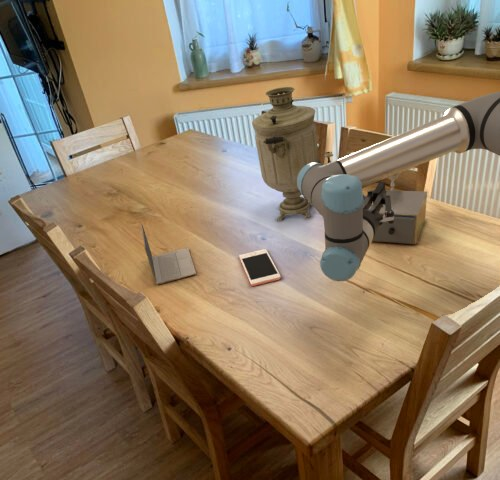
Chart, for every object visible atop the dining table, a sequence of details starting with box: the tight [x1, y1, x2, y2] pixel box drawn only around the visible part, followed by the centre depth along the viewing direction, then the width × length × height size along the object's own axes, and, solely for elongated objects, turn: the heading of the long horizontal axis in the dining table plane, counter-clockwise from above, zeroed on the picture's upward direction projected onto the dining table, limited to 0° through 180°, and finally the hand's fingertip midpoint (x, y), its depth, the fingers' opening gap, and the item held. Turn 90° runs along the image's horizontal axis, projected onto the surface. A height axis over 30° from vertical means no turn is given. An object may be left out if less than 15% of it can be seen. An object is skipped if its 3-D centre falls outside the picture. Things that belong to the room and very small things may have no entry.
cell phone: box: [238, 248, 282, 287], centre depth 148 cm, size 9×18×1 cm, turn 12°
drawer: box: [372, 215, 415, 245], centre depth 149 cm, size 16×12×8 cm
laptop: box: [140, 222, 197, 285], centre depth 153 cm, size 18×13×13 cm
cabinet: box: [374, 189, 428, 246], centre depth 151 cm, size 16×14×10 cm
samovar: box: [251, 86, 334, 222], centre depth 161 cm, size 30×26×40 cm
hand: (382, 187), depth 124 cm, fingers closed
